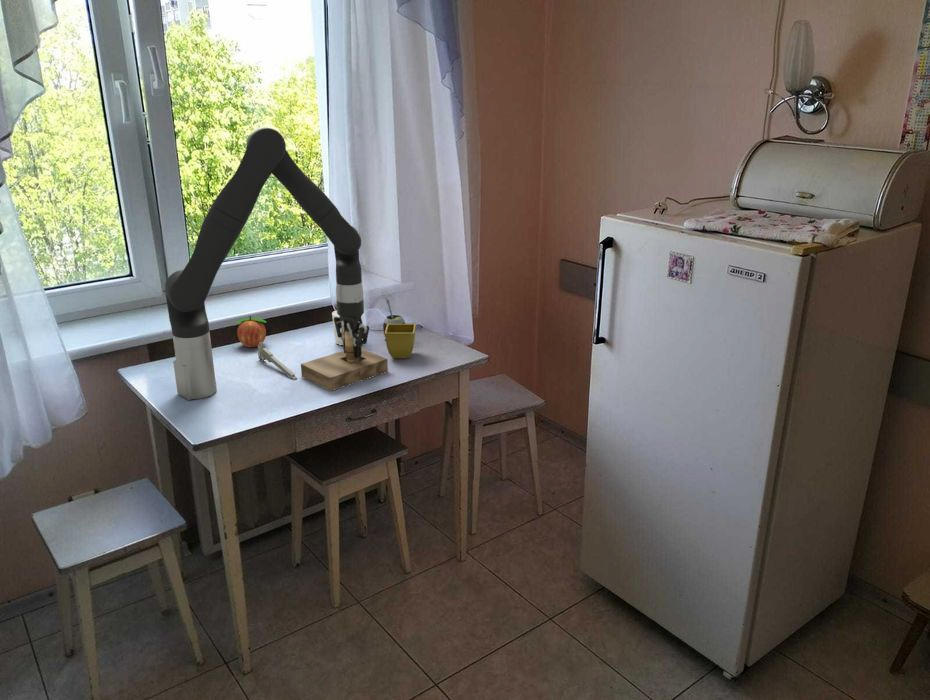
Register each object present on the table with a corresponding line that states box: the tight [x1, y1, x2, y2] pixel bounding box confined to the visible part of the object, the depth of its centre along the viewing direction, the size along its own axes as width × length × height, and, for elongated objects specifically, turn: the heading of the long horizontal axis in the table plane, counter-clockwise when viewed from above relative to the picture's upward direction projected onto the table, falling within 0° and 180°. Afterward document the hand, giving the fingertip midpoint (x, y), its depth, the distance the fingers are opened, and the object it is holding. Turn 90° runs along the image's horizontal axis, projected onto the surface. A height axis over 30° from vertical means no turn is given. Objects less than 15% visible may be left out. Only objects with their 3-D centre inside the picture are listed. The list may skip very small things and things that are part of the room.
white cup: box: [331, 309, 343, 346], centre depth 239 cm, size 8×8×10 cm
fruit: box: [234, 315, 267, 348], centre depth 235 cm, size 9×10×10 cm
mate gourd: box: [381, 292, 406, 342], centre depth 240 cm, size 8×8×15 cm
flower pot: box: [384, 323, 416, 359], centre depth 228 cm, size 9×9×9 cm
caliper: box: [257, 342, 298, 380], centre depth 218 cm, size 20×1×6 cm, turn 43°
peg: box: [344, 331, 360, 364], centre depth 215 cm, size 4×4×10 cm
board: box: [300, 347, 389, 392], centre depth 215 cm, size 20×14×4 cm
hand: (352, 354), depth 216 cm, fingers closed on peg, 4 cm apart
